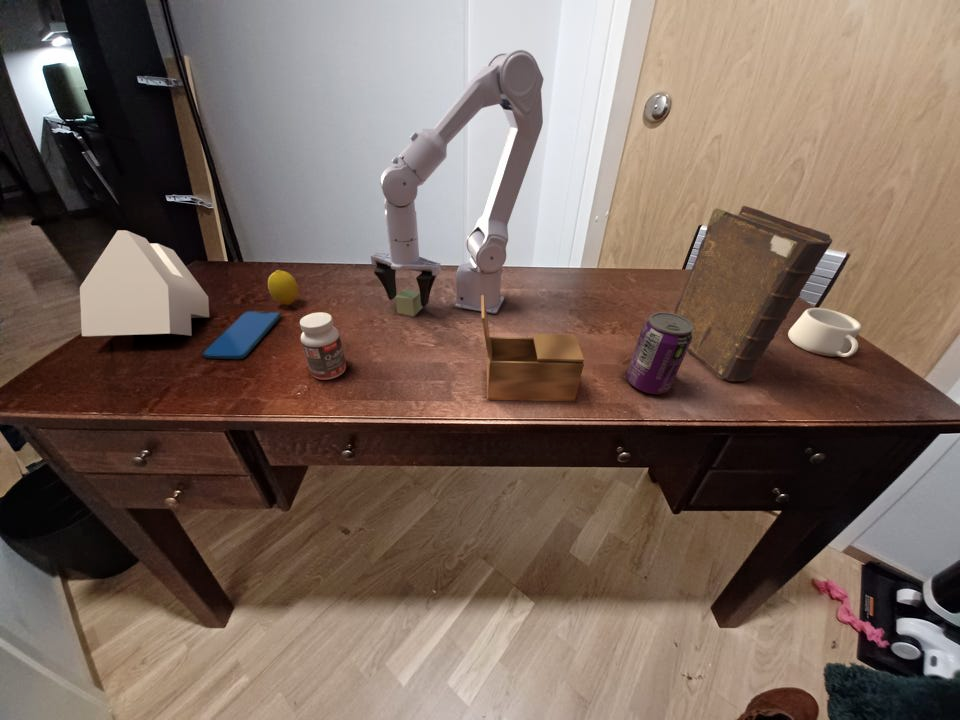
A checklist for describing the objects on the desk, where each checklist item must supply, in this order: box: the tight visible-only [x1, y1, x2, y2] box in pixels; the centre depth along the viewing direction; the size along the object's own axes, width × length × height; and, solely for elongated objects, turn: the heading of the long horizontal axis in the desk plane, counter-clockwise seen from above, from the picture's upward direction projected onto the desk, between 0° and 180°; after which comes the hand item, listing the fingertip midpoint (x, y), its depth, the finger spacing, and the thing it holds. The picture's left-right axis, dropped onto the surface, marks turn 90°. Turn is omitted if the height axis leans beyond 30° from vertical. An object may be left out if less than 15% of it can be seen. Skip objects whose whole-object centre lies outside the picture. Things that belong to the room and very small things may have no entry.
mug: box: [787, 307, 862, 358], centre depth 71 cm, size 12×10×6 cm
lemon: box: [267, 269, 299, 306], centre depth 77 cm, size 6×6×8 cm
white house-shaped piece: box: [79, 229, 210, 339], centre depth 68 cm, size 14×11×18 cm
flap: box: [481, 295, 491, 358], centre depth 53 cm, size 7×7×1 cm
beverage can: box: [625, 311, 693, 395], centre depth 58 cm, size 7×7×12 cm
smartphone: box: [202, 310, 282, 360], centre depth 69 cm, size 7×1×15 cm
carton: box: [486, 333, 585, 402], centre depth 58 cm, size 14×7×8 cm, turn 90°
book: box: [673, 205, 833, 382], centre depth 61 cm, size 17×7×25 cm, turn 9°
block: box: [394, 288, 423, 317], centre depth 78 cm, size 4×4×4 cm
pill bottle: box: [299, 311, 347, 381], centre depth 59 cm, size 6×6×10 cm
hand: (408, 300), depth 78 cm, fingers open, 7 cm apart
